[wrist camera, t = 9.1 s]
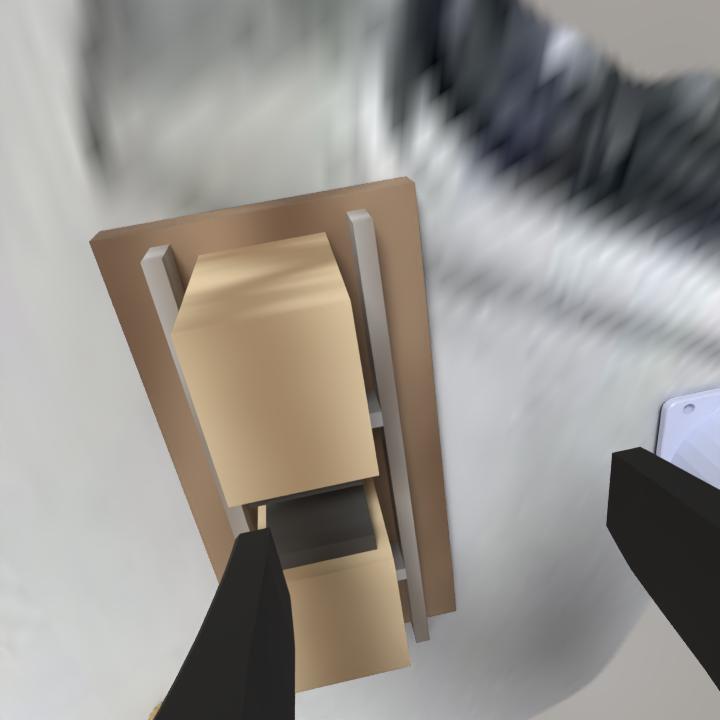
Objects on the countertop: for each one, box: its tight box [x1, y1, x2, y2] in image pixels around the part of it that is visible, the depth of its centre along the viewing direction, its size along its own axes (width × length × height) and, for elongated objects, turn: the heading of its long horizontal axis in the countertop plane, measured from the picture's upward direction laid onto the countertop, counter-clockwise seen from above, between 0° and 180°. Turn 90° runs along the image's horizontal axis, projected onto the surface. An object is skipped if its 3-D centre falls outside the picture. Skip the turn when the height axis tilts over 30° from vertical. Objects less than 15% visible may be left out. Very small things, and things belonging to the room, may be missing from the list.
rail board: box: [89, 176, 456, 643], centre depth 20 cm, size 10×20×7 cm, turn 8°
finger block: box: [258, 477, 411, 693], centre depth 20 cm, size 4×6×6 cm
